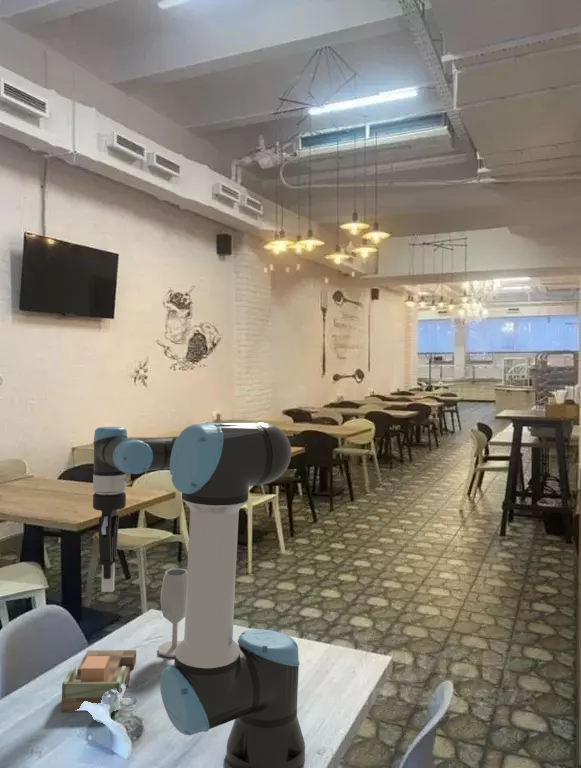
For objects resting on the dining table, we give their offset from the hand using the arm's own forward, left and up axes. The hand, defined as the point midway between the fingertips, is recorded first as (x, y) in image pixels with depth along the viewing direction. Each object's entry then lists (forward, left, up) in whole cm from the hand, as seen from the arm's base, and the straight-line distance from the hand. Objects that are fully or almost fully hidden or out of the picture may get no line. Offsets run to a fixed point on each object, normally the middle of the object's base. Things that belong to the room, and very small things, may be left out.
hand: (107, 590), depth 148 cm
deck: (-3, 0, -21) cm, 21 cm away
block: (-9, +1, -18) cm, 20 cm away
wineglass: (+14, -15, -21) cm, 30 cm away
